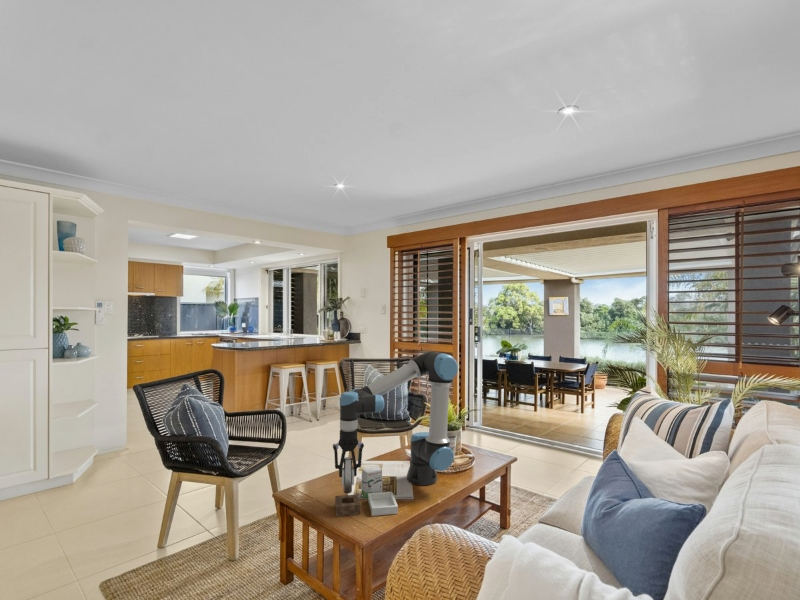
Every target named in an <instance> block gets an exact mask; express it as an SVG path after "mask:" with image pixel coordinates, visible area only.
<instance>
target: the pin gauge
mask: <svg viewBox="0 0 800 600" xmlns="http://www.w3.org/2000/svg"><path fill="white" fill-rule="evenodd" d="M352 467H353V460H352V456H351V457H350V456H349V457H348V456H347V457H346V456H345V458H344V463H343V468H344V486H343V489H342V490H343V492H342V493H343V494H345V495H349V494H351V493H352V492H353V485H352Z"/></svg>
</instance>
